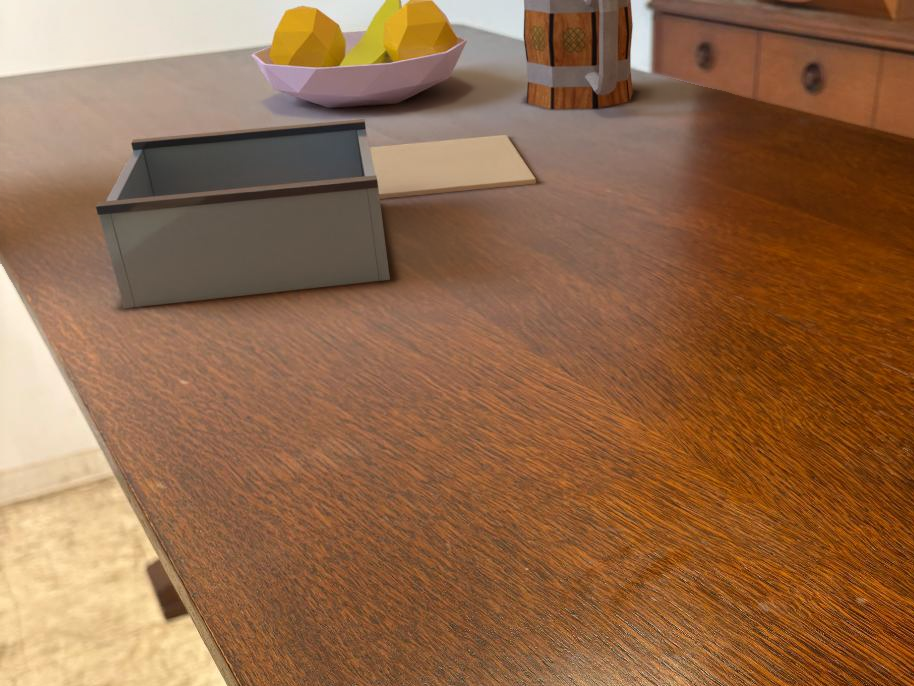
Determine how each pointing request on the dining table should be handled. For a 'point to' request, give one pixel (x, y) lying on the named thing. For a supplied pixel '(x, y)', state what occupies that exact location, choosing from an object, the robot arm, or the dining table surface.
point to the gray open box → (245, 214)
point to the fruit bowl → (361, 55)
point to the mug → (578, 53)
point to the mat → (448, 166)
